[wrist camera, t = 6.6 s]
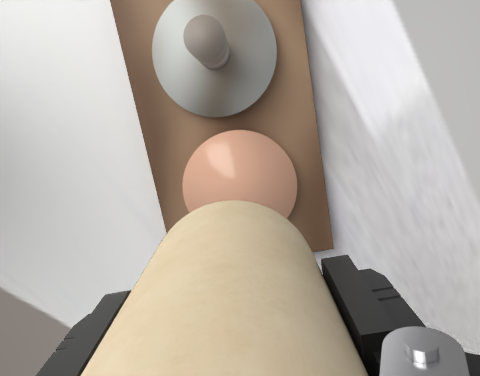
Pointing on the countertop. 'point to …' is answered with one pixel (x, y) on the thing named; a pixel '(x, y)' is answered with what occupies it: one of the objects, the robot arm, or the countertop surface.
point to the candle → (229, 304)
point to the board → (223, 91)
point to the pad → (240, 172)
